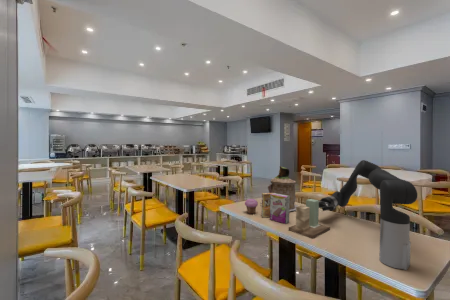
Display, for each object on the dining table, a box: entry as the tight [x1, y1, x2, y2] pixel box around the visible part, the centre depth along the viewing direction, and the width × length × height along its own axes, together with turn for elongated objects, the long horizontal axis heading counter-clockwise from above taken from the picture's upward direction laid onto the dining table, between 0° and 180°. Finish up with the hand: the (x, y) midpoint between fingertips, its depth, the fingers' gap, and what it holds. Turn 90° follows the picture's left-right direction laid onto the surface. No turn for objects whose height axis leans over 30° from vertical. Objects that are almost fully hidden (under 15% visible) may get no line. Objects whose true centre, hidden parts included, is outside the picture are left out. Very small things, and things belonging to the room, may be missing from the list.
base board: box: [288, 204, 331, 240], centre depth 120 cm, size 14×19×14 cm
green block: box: [305, 198, 320, 227], centre depth 124 cm, size 5×5×14 cm
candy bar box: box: [269, 193, 290, 225], centre depth 134 cm, size 11×5×16 cm, turn 47°
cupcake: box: [244, 198, 259, 215], centre depth 149 cm, size 9×9×10 cm
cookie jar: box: [260, 165, 299, 212], centre depth 164 cm, size 25×25×32 cm
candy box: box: [261, 192, 273, 218], centre depth 143 cm, size 9×4×15 cm, turn 98°
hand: (315, 207), depth 126 cm, fingers open, 8 cm apart
